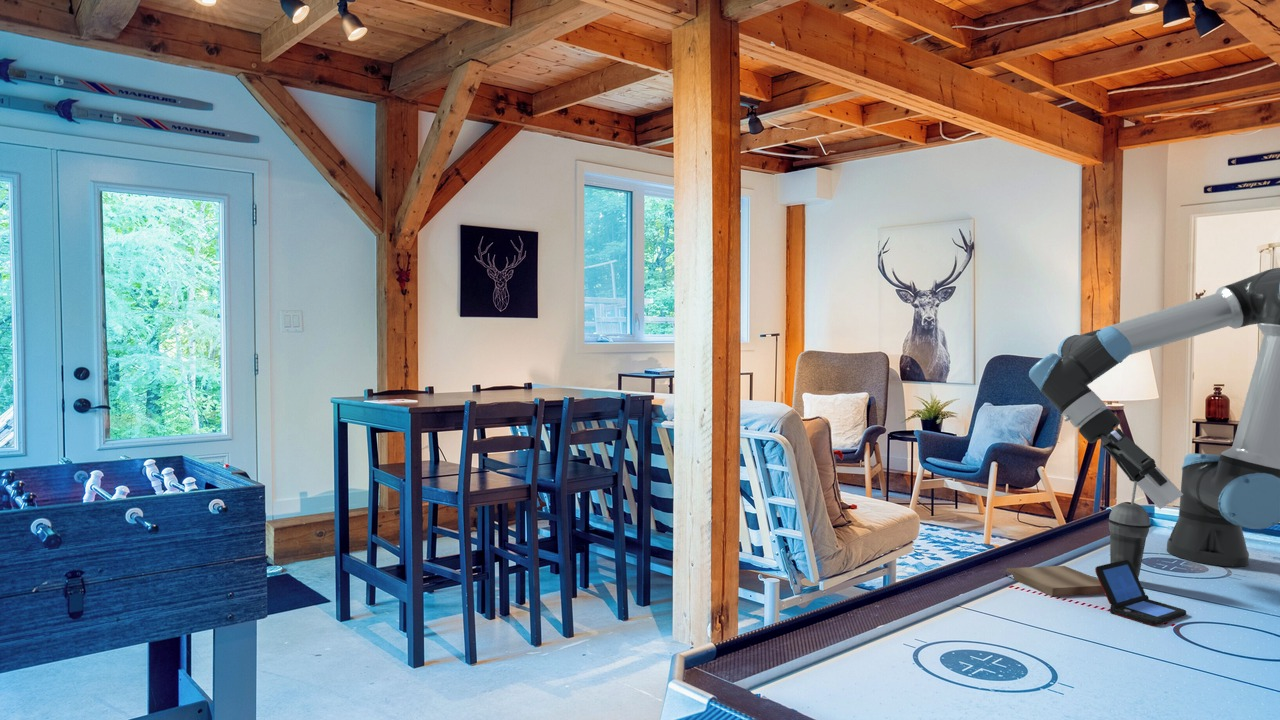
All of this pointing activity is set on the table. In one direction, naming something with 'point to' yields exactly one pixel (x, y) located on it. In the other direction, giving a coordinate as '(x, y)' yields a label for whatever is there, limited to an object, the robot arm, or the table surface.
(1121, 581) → the handheld game console
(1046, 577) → the walnut board
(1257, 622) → the table surface
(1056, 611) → the table surface
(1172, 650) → the table surface
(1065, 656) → the table surface
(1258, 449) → the robot arm
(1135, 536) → the beverage cup
